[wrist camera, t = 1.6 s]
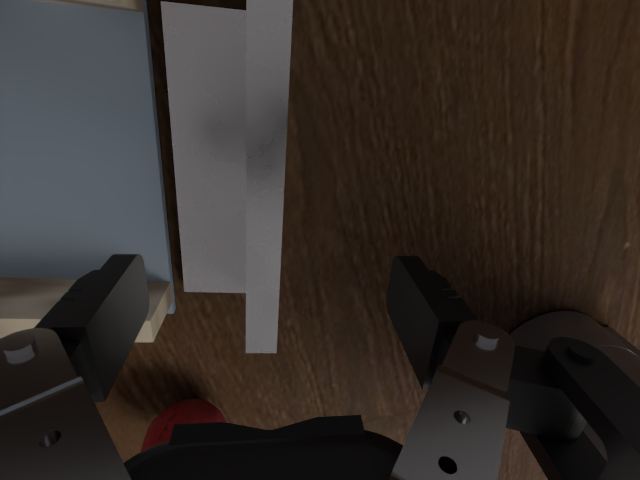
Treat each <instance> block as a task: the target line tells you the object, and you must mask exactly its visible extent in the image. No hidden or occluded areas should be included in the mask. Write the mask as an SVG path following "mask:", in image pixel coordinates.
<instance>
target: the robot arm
mask: <svg viewBox="0 0 640 480" xmlns="http://www.w3.org/2000/svg"><path fill="white" fill-rule="evenodd" d="M387 310H388V314H389V316H390V318H391V321H392V323H393V325H394V327H395V330H396V332H397V334H398V336H399V338H400V341H401V343H402V345H403V347H404V350H405V352H406V354H407V356H408V358H409V361H410V363H411V365H412V367H413V370H414V372H415V374H416V376H417V378H418V381H419V383H420V385H421V387H422V389H428V391H427V393H426V395H425V397H424V400H423V402H422V404H421V407H420V409H419V411H418V413H417V416H416V418H415V420H414V423H413V425H412V427H411V429H410V432H409V434H408V436H407V439H406V441H405V443H404V445H401V444H399V443H398V442H396V441H394V440H392V439H390V438H388V437H385V436H383V435H381V434H377V433H374V432H371V431H366V430H364V427H363V423H362V419H361V415H352V416H332V417H316V418H312V419H309V420H306V421H302V422H299V423H295V424H292V425H288V426H285V427H281V428H278V429H274V430H264V429H258V428H253V427H247V426H242V425H236V424H231V423H225V422H211V423H191V424H174V427H173V431H172V434H171V438H170V441H167V442H164V443H161V444H159V445H156V446H153V447H151V448H149V449H147V450H145V451H143V452H141V453H139V454H137V455H135V456H134V457H132V458H131V459H129V460H127V461H126V462H124V463H123V461H122V459H121V457H120V455H119V453H118V451H117V449H116V447H115V445H114V443H113V441H112V439H111V437H110V434H109V432H108V430H107V428H106V426H105V424H104V422H103V420H102V418H101V416H100V414H99V412H98V410H97V407H96V405H95V403H94V402H104V401H105V400H106V398H107V396H108V394H109V392H110V390H111V388H112V386H113V384H114V382H115V380H116V378H117V376H118V374H119V372H120V370H121V368H122V366H123V364H124V362H125V360H126V358H127V356H128V354H129V352H130V350H131V348H132V346H133V344H134V342H135V340H136V338H137V336H138V334H139V332H140V330H141V328H142V326H143V324H144V322H145V320H146V318H147V315H148V311H149V292H148V286H147V280H146V273H145V267H144V261H143V258H142V256H141V255H140V254H113V255H112V256H111V257H110V258H109V259H108V260H107V261H106V263H105V264H104V265H103V266H102V267H101V269H100V270H93V271H91V272H89V273H87V274H86V275H84V276H82V277H81V278H79V279H77V281H76V282H75V283H74V284H73V285H72V286H71V287H70V288H69V289H68V292H66V293H65V294H64V295H63V296H62V297H61V298H60V301H58V302H57V303H56V304H55V305H54V306H53V307H52V308H51V309H50V311H49V312H48V313H47V314H46V315H45V316H44V317H43V318H42V319H41V321H40V322H39V323H38V324H37V325H36V326H35V327H34V328H32V329H26V330H22V331H18V332H15V333H12V334H9V335H7V336H5V337H3V338H1V339H0V480H497V477H498V471H499V465H500V459H501V452H502V446H503V440H504V434H505V428H509V429H513V430H517V431H520V433H521V435H522V436H523V438H524V440H525V441H526V443H527V445H528V447H529V448H530V450H531V452H532V453H533V455H534V457H535V458H536V460H537V462H538V463H539V465H540V467H541V468H542V470H543V472H544V473H545V475H546V477H547V478H548V480H640V351H639V350H638V349H637V348H636V347H635V346H633V345H632V344H631V343H630V342H628V341H627V340H626V339H625V338H624V337H622V336H621V335H620V334H619V333H617V332H616V331H615V330H614V329H612V328H611V327H602V326H601V325H600V324H598V323H597V322H596V321H595V320H594V319H592V318H591V317H589V316H587V315H585V314H583V313H579V312H575V311H558V312H551V313H547V314H544V315H541V316H538V317H535V318H533V319H531V320H529V321H527V322H525V323H524V324H522V325H521V326H519V327H518V328H516V329H515V330H514V331H513V332H512V333H511V334H508V333H507V332H505V331H504V330H503V329H501V328H499V327H498V326H496V325H493V324H491V323H488V322H484V321H479V320H478V319H477V318H476V316H475V315H474V314H473V313H472V311H471V310H470V309H469V308H468V306H467V305H466V304H465V302H464V301H463V300H462V299H461V298H459V295H458V293H457V292H456V291H455V290H453V287H452V286H451V285H450V283H449V282H448V281H447V279H446V278H444V277H443V276H441V275H440V274H438V273H437V272H435V271H434V270H428V269H427V267H426V266H425V265H424V263H423V262H422V260H421V259H420V258H419V257H418V256H395V257H394V259H393V262H392V268H391V274H390V280H389V286H388V292H387Z"/></svg>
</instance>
